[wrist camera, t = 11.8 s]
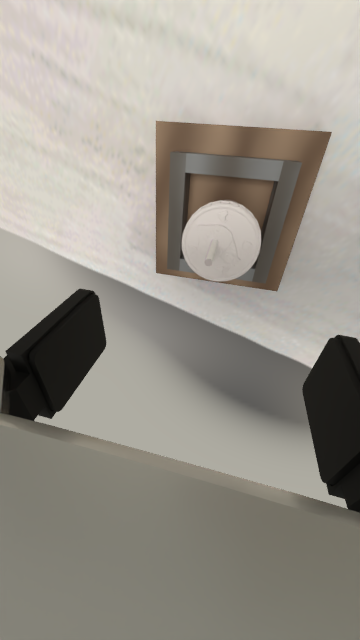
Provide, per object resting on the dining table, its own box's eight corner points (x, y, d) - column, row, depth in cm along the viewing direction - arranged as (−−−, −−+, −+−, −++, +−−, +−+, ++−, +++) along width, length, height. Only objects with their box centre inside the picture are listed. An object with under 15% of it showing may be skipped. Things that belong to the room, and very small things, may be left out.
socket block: (327, 132, 22) (342, 130, 19) (275, 285, 32) (279, 303, 28) (160, 122, 24) (145, 118, 21) (159, 268, 34) (149, 282, 30)
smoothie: (227, 170, 24) (213, 190, 13) (269, 215, 26) (288, 268, 15) (186, 219, 28) (149, 268, 17) (226, 257, 29) (215, 324, 18)
